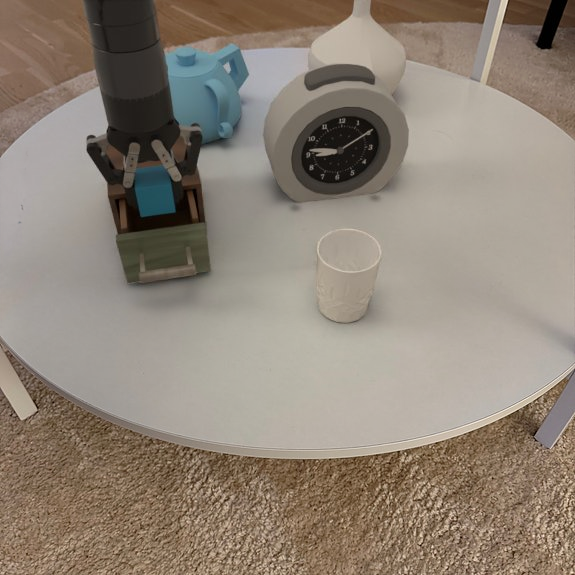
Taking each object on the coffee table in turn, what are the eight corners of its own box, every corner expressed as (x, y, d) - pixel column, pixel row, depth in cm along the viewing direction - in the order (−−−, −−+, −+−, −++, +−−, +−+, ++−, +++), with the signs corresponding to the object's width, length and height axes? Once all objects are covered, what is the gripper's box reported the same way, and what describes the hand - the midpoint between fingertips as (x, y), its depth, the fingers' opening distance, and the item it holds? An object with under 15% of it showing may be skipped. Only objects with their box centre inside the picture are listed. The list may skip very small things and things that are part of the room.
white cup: (381, 297, 81) (392, 242, 74) (356, 336, 77) (364, 281, 69) (330, 275, 84) (335, 220, 77) (302, 311, 79) (305, 257, 72)
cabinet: (207, 235, 90) (201, 183, 83) (121, 248, 88) (107, 195, 81) (194, 178, 99) (188, 127, 92) (117, 188, 97) (104, 136, 90)
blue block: (140, 217, 76) (134, 189, 73) (138, 196, 79) (132, 168, 76) (175, 212, 77) (171, 184, 74) (172, 192, 80) (167, 164, 77)
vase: (419, 99, 118) (437, -3, 104) (356, 133, 109) (367, 28, 95) (350, 66, 127) (358, -31, 113) (287, 96, 118) (288, -6, 104)
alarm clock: (272, 205, 95) (271, 89, 80) (263, 177, 100) (261, 63, 85) (400, 189, 98) (421, 74, 84) (386, 163, 103) (403, 50, 89)
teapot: (250, 100, 117) (247, 29, 107) (236, 157, 104) (230, 82, 94) (153, 95, 118) (141, 24, 108) (127, 150, 105) (110, 76, 95)
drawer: (216, 296, 80) (211, 253, 74) (129, 310, 78) (117, 267, 72) (198, 210, 92) (192, 167, 87) (122, 220, 90) (112, 178, 85)
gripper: (65, 103, 62) (101, 229, 74) (203, 88, 64) (215, 213, 77) (66, 69, 67) (100, 193, 79) (194, 57, 69) (207, 178, 82)
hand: (156, 202), depth 78 cm, fingers closed on blue block, 4 cm apart
